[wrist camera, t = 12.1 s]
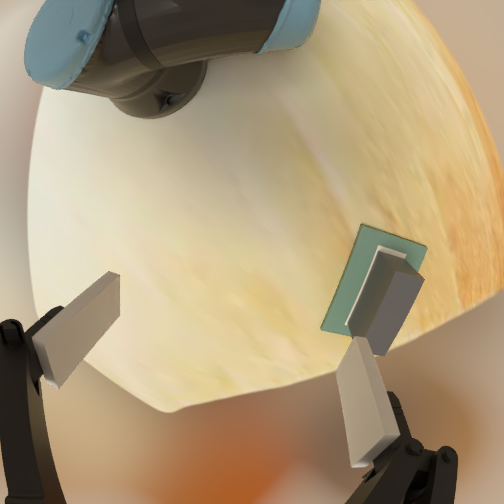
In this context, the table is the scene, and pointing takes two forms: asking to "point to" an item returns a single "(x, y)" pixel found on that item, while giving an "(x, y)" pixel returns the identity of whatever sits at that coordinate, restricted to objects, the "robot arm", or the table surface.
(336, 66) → the table surface
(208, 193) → the table surface
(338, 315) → the green peg board
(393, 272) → the block
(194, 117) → the table surface
